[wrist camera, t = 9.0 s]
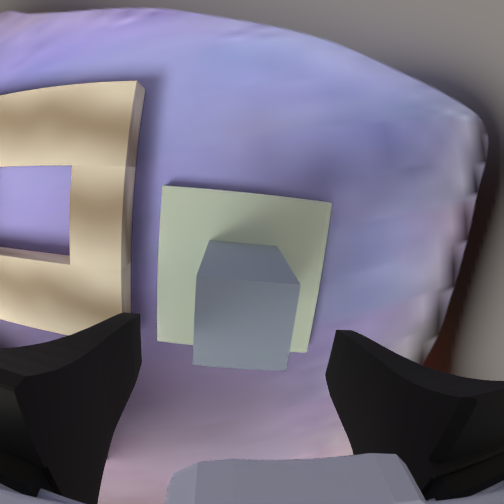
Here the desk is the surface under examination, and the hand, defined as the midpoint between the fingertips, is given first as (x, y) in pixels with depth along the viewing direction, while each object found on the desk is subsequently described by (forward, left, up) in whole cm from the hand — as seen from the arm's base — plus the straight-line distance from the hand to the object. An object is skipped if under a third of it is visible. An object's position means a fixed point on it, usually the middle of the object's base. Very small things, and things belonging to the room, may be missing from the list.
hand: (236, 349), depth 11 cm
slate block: (0, 0, -9) cm, 9 cm away
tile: (0, 0, -9) cm, 9 cm away
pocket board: (+3, +15, -9) cm, 18 cm away
